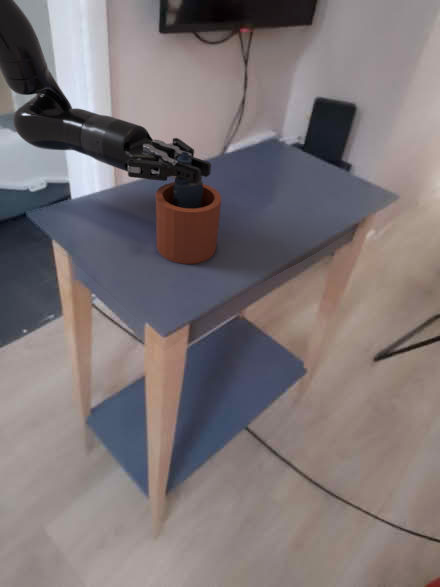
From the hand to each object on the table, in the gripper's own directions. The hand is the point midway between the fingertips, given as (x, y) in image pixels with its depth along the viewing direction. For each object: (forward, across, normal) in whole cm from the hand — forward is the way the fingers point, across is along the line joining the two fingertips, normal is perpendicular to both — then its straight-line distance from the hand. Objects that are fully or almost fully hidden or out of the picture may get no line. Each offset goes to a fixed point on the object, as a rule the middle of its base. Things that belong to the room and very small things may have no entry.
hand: (204, 173), depth 60 cm
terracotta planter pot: (-3, 0, +15) cm, 15 cm away
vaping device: (-3, 0, +10) cm, 11 cm away
